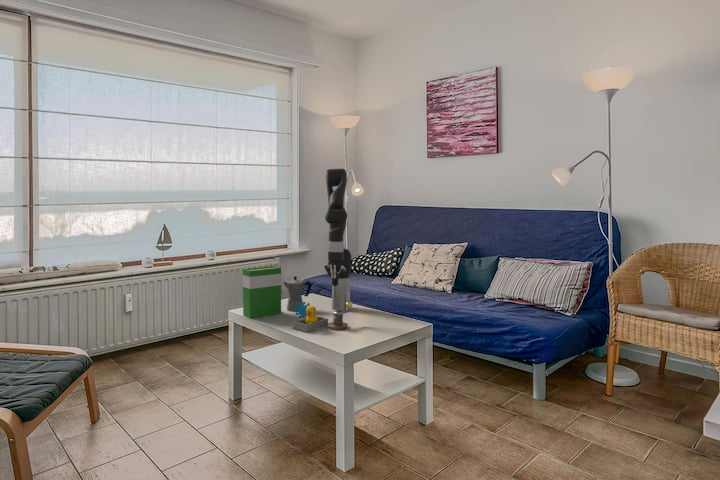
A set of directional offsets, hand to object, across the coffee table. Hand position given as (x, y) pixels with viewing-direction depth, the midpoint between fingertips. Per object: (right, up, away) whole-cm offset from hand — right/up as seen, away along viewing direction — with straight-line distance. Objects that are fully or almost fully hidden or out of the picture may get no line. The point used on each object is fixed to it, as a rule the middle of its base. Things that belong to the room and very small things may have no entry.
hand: (335, 285), depth 234 cm
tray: (-11, -19, -10) cm, 24 cm away
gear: (-15, -17, +7) cm, 24 cm away
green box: (-38, -16, +12) cm, 43 cm away
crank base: (+2, -19, -10) cm, 21 cm away
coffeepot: (-22, -15, +23) cm, 35 cm away
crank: (+4, -12, -8) cm, 15 cm away
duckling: (-11, -18, -10) cm, 23 cm away
